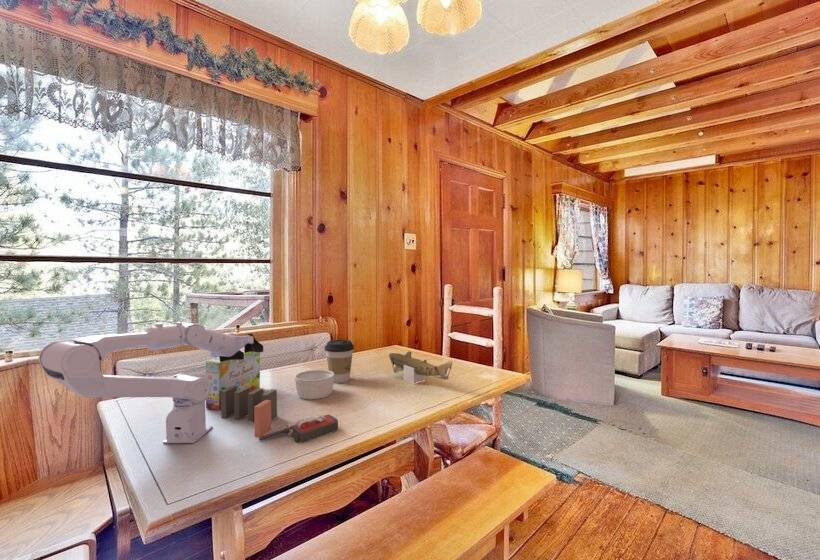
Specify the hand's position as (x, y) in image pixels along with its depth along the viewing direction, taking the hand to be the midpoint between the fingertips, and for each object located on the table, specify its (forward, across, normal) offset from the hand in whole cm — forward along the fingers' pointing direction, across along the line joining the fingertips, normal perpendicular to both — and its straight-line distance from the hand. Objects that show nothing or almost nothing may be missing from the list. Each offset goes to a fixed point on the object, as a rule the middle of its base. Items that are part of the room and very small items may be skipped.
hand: (252, 352), depth 119 cm
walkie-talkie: (0, -17, +29) cm, 33 cm away
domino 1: (0, +9, +17) cm, 19 cm away
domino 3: (+2, 0, +20) cm, 20 cm away
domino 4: (+3, -4, +21) cm, 21 cm away
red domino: (-4, -7, +26) cm, 27 cm away
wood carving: (+49, -34, +12) cm, 61 cm away
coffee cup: (+38, -7, +5) cm, 39 cm away
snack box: (+10, +17, +9) cm, 22 cm away
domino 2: (+1, +5, +18) cm, 19 cm away
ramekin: (+23, -5, +12) cm, 27 cm away
